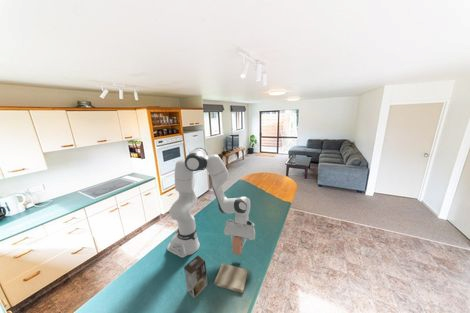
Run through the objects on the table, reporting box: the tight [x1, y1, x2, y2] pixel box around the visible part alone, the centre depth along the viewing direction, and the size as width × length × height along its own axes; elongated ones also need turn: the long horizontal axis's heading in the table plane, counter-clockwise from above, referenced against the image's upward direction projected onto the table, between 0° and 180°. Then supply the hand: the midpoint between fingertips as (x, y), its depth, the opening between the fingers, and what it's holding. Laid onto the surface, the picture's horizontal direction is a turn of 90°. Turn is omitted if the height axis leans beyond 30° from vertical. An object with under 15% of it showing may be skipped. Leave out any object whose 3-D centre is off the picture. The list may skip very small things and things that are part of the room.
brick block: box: [232, 236, 244, 256], centre depth 104 cm, size 5×5×9 cm
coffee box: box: [183, 255, 209, 299], centre depth 87 cm, size 9×6×16 cm
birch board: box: [213, 263, 249, 294], centre depth 93 cm, size 16×12×2 cm
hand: (237, 245), depth 103 cm, fingers closed on brick block, 5 cm apart
